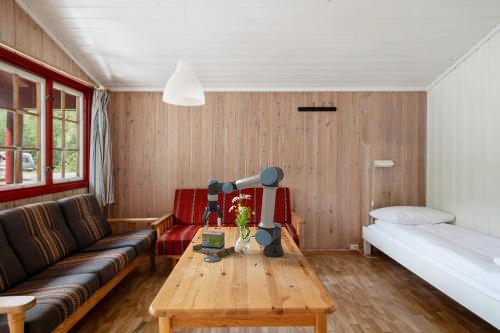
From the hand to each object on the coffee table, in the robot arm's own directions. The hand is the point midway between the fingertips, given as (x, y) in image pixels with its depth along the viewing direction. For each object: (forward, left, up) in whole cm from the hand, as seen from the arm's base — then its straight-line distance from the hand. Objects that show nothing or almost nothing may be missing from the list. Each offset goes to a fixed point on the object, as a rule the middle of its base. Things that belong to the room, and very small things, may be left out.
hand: (212, 227), depth 236 cm
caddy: (0, 0, -18) cm, 18 cm away
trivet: (+14, +13, -18) cm, 26 cm away
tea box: (0, 0, -18) cm, 18 cm away
